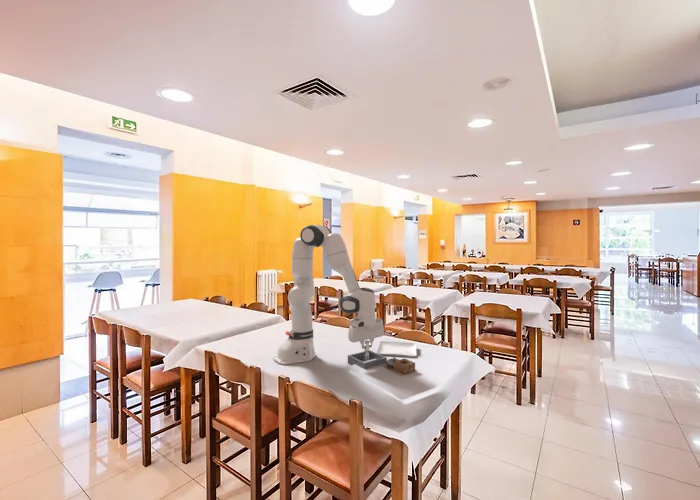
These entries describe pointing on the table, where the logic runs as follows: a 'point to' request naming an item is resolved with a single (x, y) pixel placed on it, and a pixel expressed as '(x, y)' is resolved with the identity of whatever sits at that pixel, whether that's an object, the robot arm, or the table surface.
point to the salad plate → (396, 348)
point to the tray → (360, 359)
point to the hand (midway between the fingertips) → (366, 347)
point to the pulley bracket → (400, 366)
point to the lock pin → (367, 350)
